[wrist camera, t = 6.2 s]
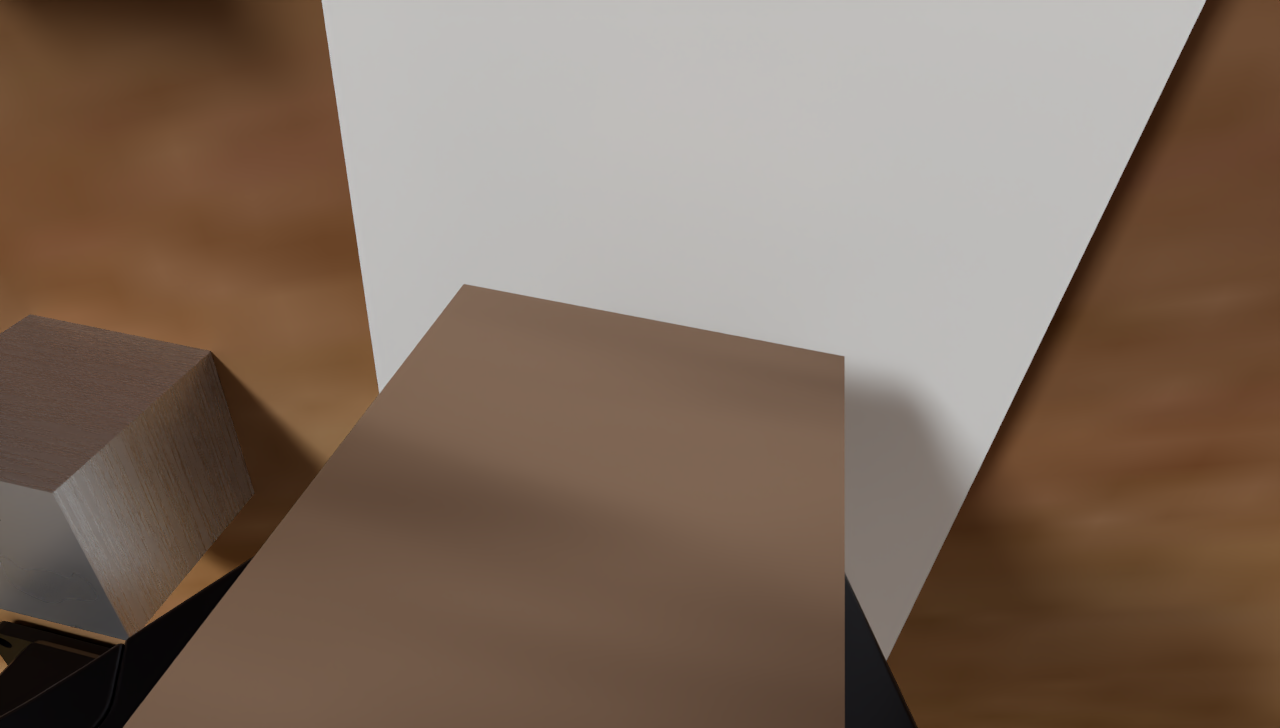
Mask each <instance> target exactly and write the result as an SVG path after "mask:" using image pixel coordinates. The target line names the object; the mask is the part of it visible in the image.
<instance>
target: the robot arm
mask: <svg viewBox="0 0 1280 728" xmlns="http://www.w3.org/2000/svg"><path fill="white" fill-rule="evenodd" d="M253 558H254V557H252V558H251V559H249V560H248V561H246V562H244V563H243V564H241V565H240V566H238V567H237V568H235V569H234V570H232V571H231V572H229V573H227V574H226V575H224V576H223V577H221V578H220V579H218V580H217V581H215V582H214V583H212V584H210V585H209V586H207V587H206V588H204V589H203V590H201V591H200V592H198V593H197V594H195V595H193V596H192V597H190V598H189V599H187V600H186V601H184V602H183V603H181V604H180V605H178V606H176V607H175V608H173V609H172V610H170V611H169V612H167V613H166V614H164V615H163V616H161V617H159V618H158V619H156V620H155V621H153V622H152V623H150V624H149V625H147V626H146V627H144V628H142V629H141V630H139V631H138V632H136V633H135V634H133V635H132V636H130V637H129V638H127V640H126V642H125V645H124V644H117V645H116V646H114V647H113V648H108V647H104V646H100V645H96V644H92V643H88V642H85V641H81V640H77V639H73V638H69V637H65V636H61V635H58V634H54V633H50V632H46V631H42V630H38V629H35V628H31V627H27V626H23V625H19V624H15V623H11V622H7V621H2V622H0V655H1V656H2V658H3V659H4V661H5V662H6V663H7V665H8V666H7V667H6V668H5V669H4V670H3V671H2V672H1V673H0V728H123V727H124V725H125V724H126V723H127V721H128V720H129V719H130V718H131V716H132V715H133V714H134V712H135V711H136V710H137V708H138V707H139V706H140V705H141V703H142V702H143V701H144V699H145V698H146V697H147V695H148V694H149V693H150V692H151V690H152V689H153V688H154V686H155V685H156V684H157V682H158V681H159V680H160V679H161V677H162V676H163V675H164V673H165V672H166V671H167V669H168V668H169V667H170V665H171V664H172V663H173V662H174V660H175V659H176V658H177V656H178V655H179V654H180V652H181V651H182V650H183V649H184V647H185V646H186V645H187V643H188V642H189V641H190V639H191V638H192V637H193V636H194V634H195V633H196V632H197V630H198V629H199V628H200V626H201V625H202V624H203V623H204V621H205V620H206V619H207V617H208V616H209V615H210V613H211V612H212V611H213V610H214V608H215V607H216V606H217V604H218V603H219V602H220V600H221V599H222V598H223V597H224V595H225V594H226V593H227V591H228V590H229V589H230V587H231V586H232V585H233V584H234V582H235V581H236V580H237V578H238V577H239V576H240V574H241V573H242V572H243V571H244V569H245V568H246V567H247V565H248V564H249V563H250V561H251V560H252V559H253ZM845 728H918V727H917V725H916V723H915V721H914V719H913V717H912V714H911V712H910V710H909V708H908V706H907V704H906V702H905V700H904V697H903V695H902V693H901V691H900V689H899V687H898V685H897V682H896V680H895V678H894V676H893V674H892V672H891V670H890V668H889V665H888V663H887V661H886V659H885V657H884V655H883V653H882V650H881V648H880V646H879V644H878V642H877V640H876V638H875V635H874V633H873V631H872V629H871V627H870V625H869V623H868V621H867V618H866V616H865V614H864V612H863V610H862V608H861V606H860V603H859V601H858V599H857V597H856V595H855V593H854V591H853V589H852V586H851V584H850V582H849V580H848V578H847V576H846V574H845Z"/></svg>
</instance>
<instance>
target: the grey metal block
mask: <svg viewBox="0 0 1280 728" xmlns="http://www.w3.org/2000/svg"><path fill="white" fill-rule="evenodd" d="M254 494H255V493H254V490H253V487H252V483H251V480H250V477H249V474H248V470H247V467H246V464H245V460H244V457H243V454H242V451H241V447H240V444H239V441H238V438H237V434H236V431H235V428H234V425H233V421H232V418H231V415H230V412H229V408H228V405H227V402H226V399H225V395H224V392H223V389H222V386H221V382H220V379H219V376H218V372H217V369H216V366H215V363H214V359H213V356H212V353H211V351H208V350H203V349H198V348H193V347H188V346H183V345H178V344H174V343H169V342H164V341H159V340H154V339H149V338H144V337H139V336H134V335H129V334H124V333H119V332H115V331H110V330H105V329H100V328H95V327H90V326H85V325H80V324H75V323H70V322H65V321H61V320H56V319H51V318H46V317H41V316H36V315H31V314H30V315H28V316H27V317H25V318H24V319H22V320H21V321H19V322H17V323H16V324H14V325H13V326H11V327H10V328H8V329H7V330H5V331H4V332H2V333H1V334H0V609H4V610H8V611H12V612H16V613H20V614H23V615H27V616H31V617H35V618H39V619H43V620H47V621H51V622H55V623H59V624H63V625H67V626H71V627H75V628H79V629H83V630H87V631H91V632H95V633H99V634H103V635H107V636H111V637H115V638H119V639H123V640H127V638H129V637H130V636H132V635H133V634H135V633H136V632H138V631H139V630H141V629H142V628H143V627H144V626H145V625H146V624H147V622H148V621H149V620H150V619H151V618H152V616H153V615H154V614H155V613H156V612H157V610H158V609H159V608H160V607H161V606H162V604H163V603H164V602H165V601H166V599H167V598H168V597H169V596H170V595H171V593H172V592H173V591H174V590H175V589H176V587H177V586H178V585H179V584H180V583H181V581H182V580H183V579H184V578H185V577H186V575H187V574H188V573H189V572H190V571H191V569H192V568H193V567H194V566H195V565H196V563H197V562H198V561H199V560H200V559H201V557H202V556H203V555H204V554H205V553H206V551H207V550H208V549H209V548H210V547H211V545H212V544H213V543H214V542H215V541H216V539H217V538H218V537H219V536H220V535H221V533H222V532H223V531H224V530H225V529H226V527H227V526H228V525H229V524H230V522H231V521H232V520H233V519H234V518H235V516H236V515H237V514H238V513H239V512H240V510H241V509H242V508H243V507H244V506H245V504H246V503H247V502H248V501H249V500H250V498H251V497H252V496H253V495H254Z"/></svg>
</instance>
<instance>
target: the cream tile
mask: <svg viewBox="0 0 1280 728" xmlns="http://www.w3.org/2000/svg"><path fill="white" fill-rule="evenodd" d="M1205 1H1206V0H322V6H323V12H324V19H325V26H326V33H327V40H328V46H329V53H330V60H331V67H332V74H333V81H334V87H335V94H336V101H337V108H338V115H339V122H340V128H341V135H342V142H343V149H344V156H345V163H346V169H347V176H348V183H349V190H350V197H351V204H352V210H353V217H354V224H355V231H356V238H357V245H358V251H359V258H360V265H361V272H362V279H363V286H364V292H365V299H366V306H367V313H368V320H369V327H370V333H371V340H372V347H373V354H374V361H375V368H376V374H377V381H378V388H379V394H380V392H381V391H382V390H383V388H384V387H385V386H386V384H387V383H388V382H389V381H390V379H391V378H392V377H393V375H394V374H395V373H396V371H397V370H398V369H399V368H400V366H401V365H402V364H403V362H404V361H405V360H406V358H407V357H408V356H409V355H410V353H411V352H412V351H413V349H414V348H415V347H416V345H417V344H418V343H419V342H420V340H421V339H422V338H423V336H424V335H425V334H426V332H427V331H428V330H429V329H430V327H431V326H432V325H433V323H434V322H435V321H436V319H437V318H438V317H439V316H440V314H441V313H442V312H443V310H444V309H445V308H446V306H447V305H448V304H449V302H450V301H451V300H452V299H453V297H454V296H455V295H456V293H457V292H458V291H459V289H460V288H461V287H462V286H463V284H467V285H472V286H477V287H483V288H488V289H493V290H498V291H504V292H509V293H514V294H520V295H525V296H530V297H535V298H541V299H546V300H551V301H556V302H562V303H567V304H572V305H577V306H583V307H588V308H593V309H598V310H604V311H609V312H614V313H619V314H625V315H630V316H635V317H640V318H646V319H651V320H656V321H661V322H667V323H672V324H677V325H682V326H688V327H693V328H698V329H703V330H709V331H714V332H719V333H724V334H730V335H735V336H740V337H746V338H751V339H756V340H761V341H767V342H772V343H777V344H782V345H788V346H793V347H798V348H803V349H809V350H814V351H819V352H824V353H830V354H835V355H840V356H845V574H846V576H847V578H848V580H849V582H850V584H851V586H852V589H853V591H854V593H855V595H856V597H857V599H858V601H859V603H860V606H861V608H862V610H863V612H864V614H865V616H866V618H867V621H868V623H869V625H870V627H871V629H872V631H873V633H874V635H875V638H876V640H877V642H878V644H879V646H880V648H881V650H882V653H883V655H884V657H885V659H886V661H887V659H888V657H889V655H890V653H891V651H892V648H893V646H894V644H895V642H896V640H897V638H898V636H899V634H900V632H901V630H902V628H903V626H904V624H905V622H906V620H907V617H908V615H909V613H910V611H911V609H912V607H913V605H914V603H915V601H916V599H917V597H918V595H919V593H920V591H921V589H922V586H923V584H924V582H925V580H926V578H927V576H928V574H929V572H930V570H931V568H932V566H933V564H934V562H935V560H936V558H937V555H938V553H939V551H940V549H941V547H942V545H943V543H944V541H945V539H946V537H947V535H948V533H949V531H950V529H951V527H952V524H953V522H954V520H955V518H956V516H957V514H958V512H959V510H960V508H961V506H962V504H963V502H964V500H965V498H966V496H967V493H968V491H969V489H970V487H971V485H972V483H973V481H974V479H975V477H976V475H977V473H978V471H979V469H980V467H981V465H982V462H983V460H984V458H985V456H986V454H987V452H988V450H989V448H990V446H991V444H992V442H993V440H994V438H995V436H996V434H997V431H998V429H999V427H1000V425H1001V423H1002V421H1003V419H1004V417H1005V415H1006V413H1007V411H1008V409H1009V407H1010V405H1011V402H1012V400H1013V398H1014V396H1015V394H1016V392H1017V390H1018V388H1019V386H1020V384H1021V382H1022V380H1023V378H1024V376H1025V374H1026V371H1027V369H1028V367H1029V365H1030V363H1031V361H1032V359H1033V357H1034V355H1035V353H1036V351H1037V349H1038V347H1039V345H1040V343H1041V340H1042V338H1043V336H1044V334H1045V332H1046V330H1047V328H1048V326H1049V324H1050V322H1051V320H1052V318H1053V316H1054V314H1055V312H1056V309H1057V307H1058V305H1059V303H1060V301H1061V299H1062V297H1063V295H1064V293H1065V291H1066V289H1067V287H1068V285H1069V283H1070V281H1071V278H1072V276H1073V274H1074V272H1075V270H1076V268H1077V266H1078V264H1079V262H1080V260H1081V258H1082V256H1083V254H1084V252H1085V250H1086V247H1087V245H1088V243H1089V241H1090V239H1091V237H1092V235H1093V233H1094V231H1095V229H1096V227H1097V225H1098V223H1099V221H1100V219H1101V216H1102V214H1103V212H1104V210H1105V208H1106V206H1107V204H1108V202H1109V200H1110V198H1111V196H1112V194H1113V192H1114V190H1115V188H1116V185H1117V183H1118V181H1119V179H1120V177H1121V175H1122V173H1123V171H1124V169H1125V167H1126V165H1127V163H1128V161H1129V159H1130V157H1131V154H1132V152H1133V150H1134V148H1135V146H1136V144H1137V142H1138V140H1139V138H1140V136H1141V134H1142V132H1143V130H1144V128H1145V126H1146V123H1147V121H1148V119H1149V117H1150V115H1151V113H1152V111H1153V109H1154V107H1155V105H1156V103H1157V101H1158V99H1159V97H1160V95H1161V92H1162V90H1163V88H1164V86H1165V84H1166V82H1167V80H1168V78H1169V76H1170V74H1171V72H1172V70H1173V68H1174V66H1175V63H1176V61H1177V59H1178V57H1179V55H1180V53H1181V51H1182V49H1183V47H1184V45H1185V43H1186V41H1187V39H1188V37H1189V35H1190V32H1191V30H1192V28H1193V26H1194V24H1195V22H1196V20H1197V18H1198V16H1199V14H1200V12H1201V10H1202V8H1203V6H1204V4H1205Z"/></svg>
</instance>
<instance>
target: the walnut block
mask: <svg viewBox="0 0 1280 728" xmlns="http://www.w3.org/2000/svg"><path fill="white" fill-rule="evenodd" d="M123 728H845V356H840V355H835V354H830V353H824V352H819V351H814V350H809V349H803V348H798V347H793V346H788V345H782V344H777V343H772V342H767V341H761V340H756V339H751V338H746V337H740V336H735V335H730V334H724V333H719V332H714V331H709V330H703V329H698V328H693V327H688V326H682V325H677V324H672V323H667V322H661V321H656V320H651V319H646V318H640V317H635V316H630V315H625V314H619V313H614V312H609V311H604V310H598V309H593V308H588V307H583V306H577V305H572V304H567V303H562V302H556V301H551V300H546V299H541V298H535V297H530V296H525V295H520V294H514V293H509V292H504V291H498V290H493V289H488V288H483V287H477V286H472V285H467V284H463V286H462V287H461V288H460V289H459V291H458V292H457V293H456V295H455V296H454V297H453V299H452V300H451V301H450V302H449V304H448V305H447V306H446V308H445V309H444V310H443V312H442V313H441V314H440V316H439V317H438V318H437V319H436V321H435V322H434V323H433V325H432V326H431V327H430V329H429V330H428V331H427V332H426V334H425V335H424V336H423V338H422V339H421V340H420V342H419V343H418V344H417V345H416V347H415V348H414V349H413V351H412V352H411V353H410V355H409V356H408V357H407V358H406V360H405V361H404V362H403V364H402V365H401V366H400V368H399V369H398V370H397V371H396V373H395V374H394V375H393V377H392V378H391V379H390V381H389V382H388V383H387V384H386V386H385V387H384V388H383V390H382V391H381V392H380V394H379V395H378V396H377V397H376V399H375V400H374V401H373V403H372V404H371V405H370V407H369V408H368V409H367V410H366V412H365V413H364V414H363V416H362V417H361V418H360V420H359V421H358V422H357V423H356V425H355V426H354V427H353V429H352V430H351V431H350V433H349V434H348V435H347V437H346V438H345V439H344V440H343V442H342V443H341V444H340V446H339V447H338V448H337V450H336V451H335V452H334V453H333V455H332V456H331V457H330V459H329V460H328V461H327V463H326V464H325V465H324V466H323V468H322V469H321V470H320V472H319V473H318V474H317V476H316V477H315V478H314V479H313V481H312V482H311V483H310V485H309V486H308V487H307V489H306V490H305V491H304V492H303V494H302V495H301V496H300V498H299V499H298V500H297V502H296V503H295V504H294V505H293V507H292V508H291V509H290V511H289V512H288V513H287V515H286V516H285V517H284V518H283V520H282V521H281V522H280V524H279V525H278V526H277V528H276V529H275V530H274V531H273V533H272V534H271V535H270V537H269V538H268V539H267V541H266V542H265V543H264V544H263V546H262V547H261V548H260V550H259V551H258V552H257V554H256V555H255V556H254V558H253V559H252V560H251V561H250V563H249V564H248V565H247V567H246V568H245V569H244V571H243V572H242V573H241V574H240V576H239V577H238V578H237V580H236V581H235V582H234V584H233V585H232V586H231V587H230V589H229V590H228V591H227V593H226V594H225V595H224V597H223V598H222V599H221V600H220V602H219V603H218V604H217V606H216V607H215V608H214V610H213V611H212V612H211V613H210V615H209V616H208V617H207V619H206V620H205V621H204V623H203V624H202V625H201V626H200V628H199V629H198V630H197V632H196V633H195V634H194V636H193V637H192V638H191V639H190V641H189V642H188V643H187V645H186V646H185V647H184V649H183V650H182V651H181V652H180V654H179V655H178V656H177V658H176V659H175V660H174V662H173V663H172V664H171V665H170V667H169V668H168V669H167V671H166V672H165V673H164V675H163V676H162V677H161V679H160V680H159V681H158V682H157V684H156V685H155V686H154V688H153V689H152V690H151V692H150V693H149V694H148V695H147V697H146V698H145V699H144V701H143V702H142V703H141V705H140V706H139V707H138V708H137V710H136V711H135V712H134V714H133V715H132V716H131V718H130V719H129V720H128V721H127V723H126V724H125V725H124V727H123Z"/></svg>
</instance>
